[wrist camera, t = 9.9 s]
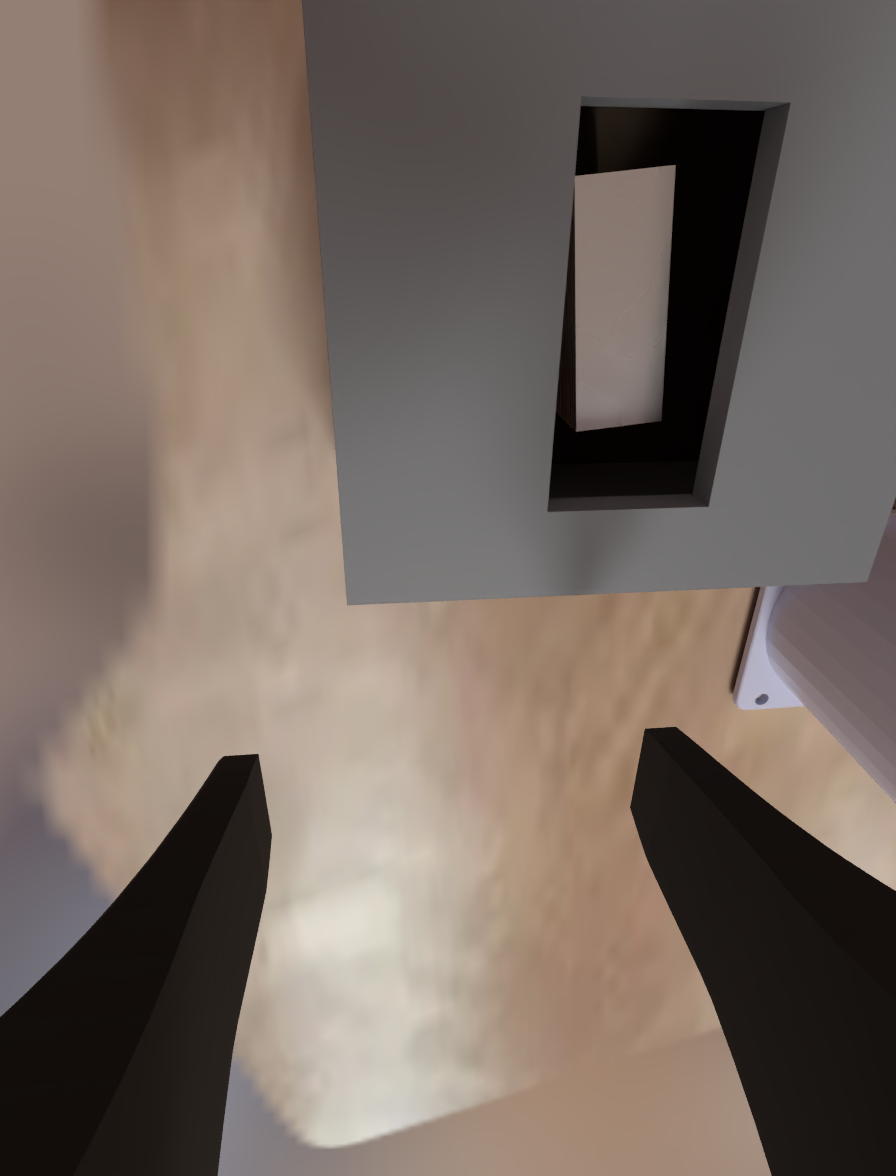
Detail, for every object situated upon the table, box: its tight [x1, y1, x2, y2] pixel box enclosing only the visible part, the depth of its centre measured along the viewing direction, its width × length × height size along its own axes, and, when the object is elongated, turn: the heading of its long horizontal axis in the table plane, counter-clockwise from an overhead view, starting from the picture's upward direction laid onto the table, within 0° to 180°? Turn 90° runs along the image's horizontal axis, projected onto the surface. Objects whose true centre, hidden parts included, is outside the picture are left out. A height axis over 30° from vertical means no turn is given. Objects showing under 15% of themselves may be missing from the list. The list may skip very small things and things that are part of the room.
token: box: [556, 165, 676, 432], centre depth 16 cm, size 2×5×5 cm, turn 6°
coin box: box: [302, 0, 896, 605], centre depth 15 cm, size 12×11×7 cm
